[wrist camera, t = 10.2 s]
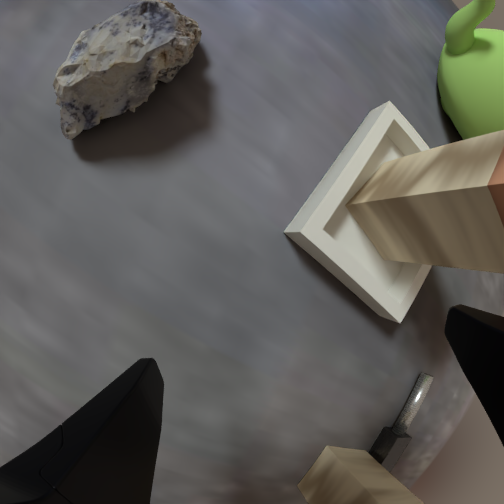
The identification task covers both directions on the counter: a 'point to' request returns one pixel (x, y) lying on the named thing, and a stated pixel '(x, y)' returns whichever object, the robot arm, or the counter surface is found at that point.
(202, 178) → the counter surface
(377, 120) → the tray
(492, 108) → the teapot
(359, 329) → the counter surface
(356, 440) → the counter surface
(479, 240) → the block
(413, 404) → the pin gauge
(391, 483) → the block
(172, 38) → the mineral specimen
